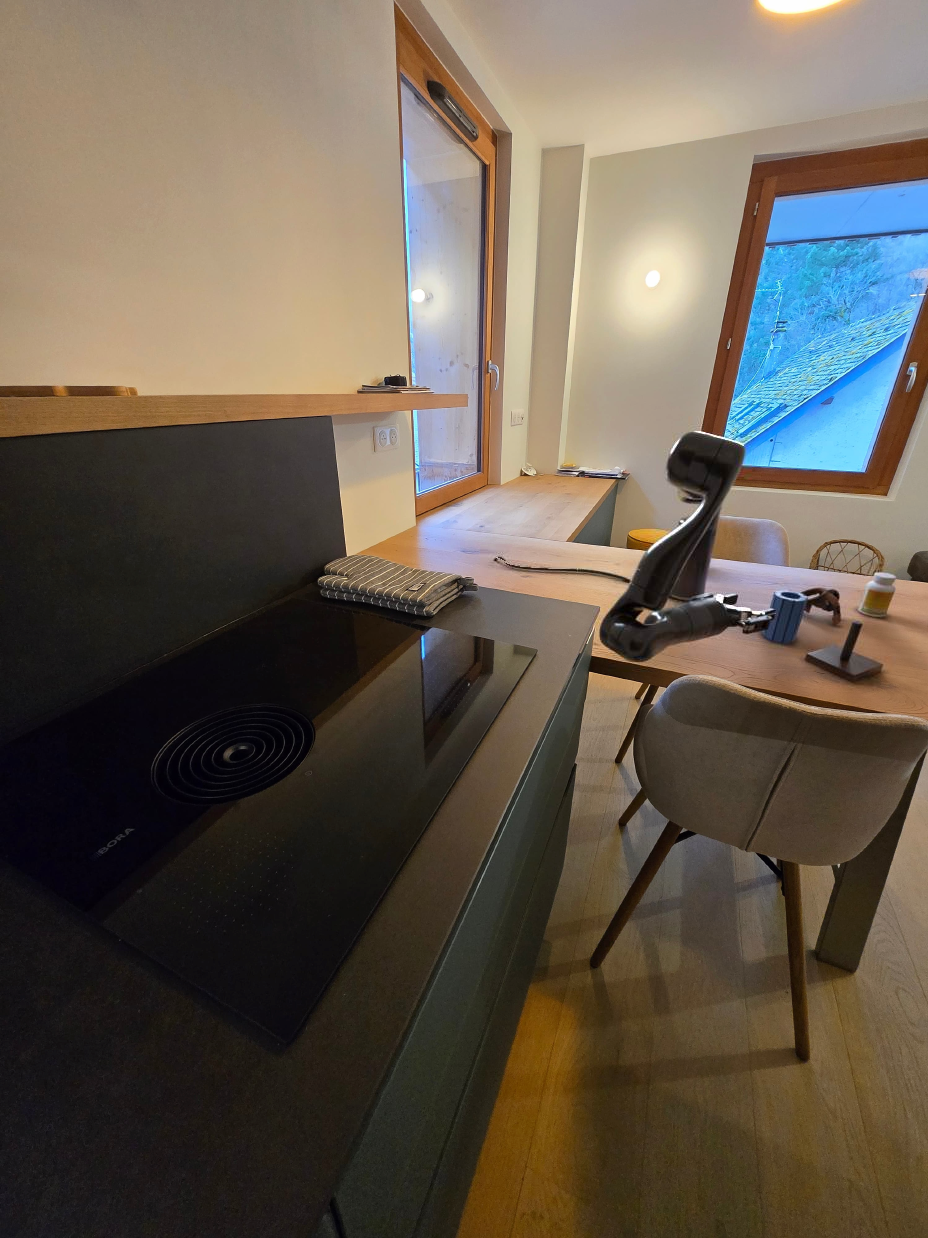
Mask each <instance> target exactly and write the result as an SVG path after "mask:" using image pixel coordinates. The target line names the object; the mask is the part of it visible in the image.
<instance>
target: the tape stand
mask: <svg viewBox="0 0 928 1238" xmlns="http://www.w3.org/2000/svg"><path fill="white" fill-rule="evenodd" d="M863 625H864V623H863V622H862V621H859V620H853V621H852V622H851V625H850V627H849V630H848V633H847V636H846V638H845V641H844V643H843V646H841V645H838V644H835V643H834V644H832V645H829V646H826V647H823V648H820V649H817V650H814V651H811V652H807V653H806V655H805V659H804V661H806V662H808V663H811V664H812V665H814V666H817V667H819V668H821V669H823V670H824V671H825V670H826V671H827V672H830V673H831V674H834V675H836V676H838V677H841V678H842V679H845V680H846V681H849V682H855V681H859V680H861V679H864V678H865V677H869V676H871V675H873V674H877V673H879V672H881V671H882V669H883V667H884V664H883V663H881V662H878V661H876V660H874V659H871V658H869V657H867V656H864V655H862V654H860V653H857V652H855V651H854V649H855V647H856V644H857V641H858V638H859V635H860V633H861V630H862V627H863Z"/></svg>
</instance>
